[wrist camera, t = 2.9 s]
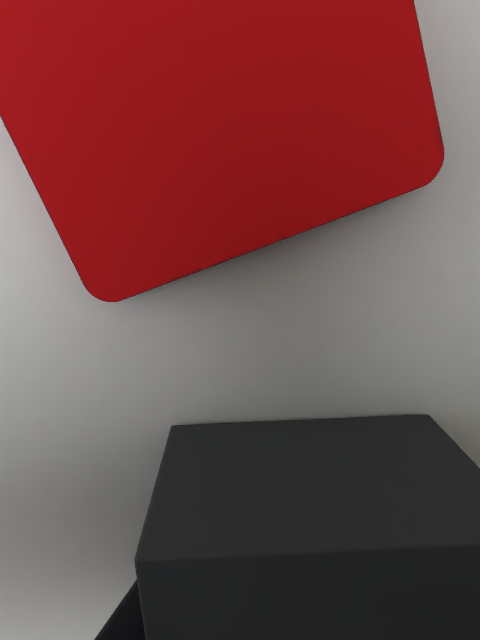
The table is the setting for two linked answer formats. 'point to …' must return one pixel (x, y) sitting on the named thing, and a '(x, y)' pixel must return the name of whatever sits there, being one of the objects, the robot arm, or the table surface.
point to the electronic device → (211, 124)
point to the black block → (312, 533)
